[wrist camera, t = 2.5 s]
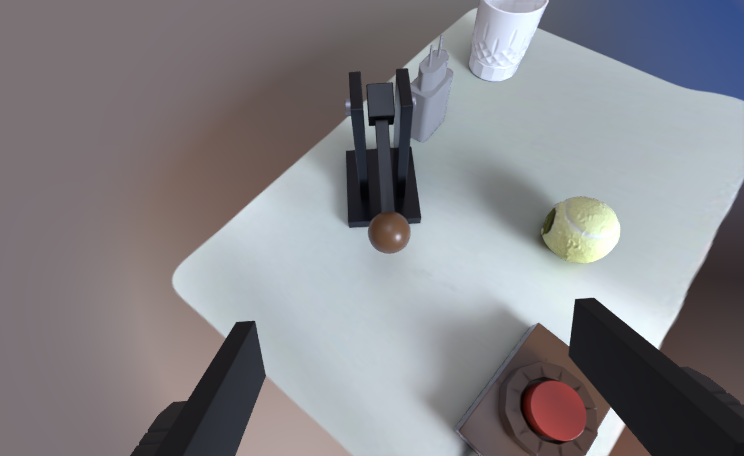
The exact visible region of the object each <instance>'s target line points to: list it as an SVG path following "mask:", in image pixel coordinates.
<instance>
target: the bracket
mask: <svg viewBox="0 0 744 456" xmlns="http://www.w3.org/2000/svg"><path fill="white" fill-rule="evenodd" d="M349 86H350V98H349V99H345V110H346V115H347V116H351V119H352V127H353V136H354V145H355V150H352V151H346V166H347V197H348V224H349V228H352V227H367V226H369V225H370V223H371V221H372V220H373V218H374V217H375V216H377V215H378V214H380V213H381V202H380V188H379V173H378V158H377V149H367V150H366V139H365V125H364V111H363V98H362V83H361V72H360V71H359V72H350V73H349ZM413 111H416V96H415V94H412V93H411V86H410V79H409V73H408V69H407V68H404V69H397V70H396V90H395V120H394V148H390V153H391V168H392V182H393V197H394V211H395V212H396V213H399V214H400V215H402V216H403V217H404V218H405V219H406V220H407V222H408V224H412V223H420V221H421V213H420V206H419V199H418V192H417V184H416V177H415V170H414V163H413V156H412V148H411V147H410V138H411V127H412V117H413Z"/></svg>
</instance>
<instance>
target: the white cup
mask: <svg viewBox="0 0 744 456" xmlns="http://www.w3.org/2000/svg"><path fill="white" fill-rule="evenodd" d="M548 1H549V0H479V5H478V10H477V15H476V20H475V26H474V32H473V39H472V44H471V46H472V48H471V54H470V60H469V67H470V69H471V71H472V73H473V74H475V75H476V76H478V77H479V78H481V79H484V80H487V81H503V80H506V79H508V78H510V77H511V76H512V75H513V74H514V73H515V72H516V70H517V68H518V66H519V63H520V61H521V59H522V57H523V56H524V54H525V52H526V50H527V47H528V45H529V43H530V41H531V39H532V37H533V35H534V33H535V30H536V28H537V26H538V24H539V21H540V19H541V17H542V15H543V13H544V10H545V8H546V6H547V3H548Z"/></svg>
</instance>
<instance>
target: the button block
mask: <svg viewBox="0 0 744 456" xmlns="http://www.w3.org/2000/svg"><path fill="white" fill-rule="evenodd" d="M568 354H569V346H568V345H566V344H565V343H564V342H563V341H561V340H560V339H559V338H558V337H556V336H555V335H554V334H553V333H551V332H550V331H549V330H547V329H546V328H545V327H544V326H542V325H541V324H540V323H537V324H535V325H534V326H532V327H530V328H529V329H528V331H527V332H526V333H525V335H524V336H523V337H522V339H521V340H520V341H519V343H518V344H517V345H516V347H515V348H514V349H513V351H512V352H511V353H510V355H509V356H508V357H507V359H506V360H505V361H504V363H503V364H502V366H501V367H500V368H499V370H498V371H497V372H496V374H495V375H494V376H493V378H492V379H491V380H490V382H489V383H488V384H487V386H486V387H485V388H484V390H483V391H482V392H481V394H480V395H479V396H478V398H477V399H476V400H475V402H474V403H473V404H472V406H471V407H470V408H469V410H468V411H467V412H466V414H465V415H464V417H463V418H462V419H461V421H460V422H459V423H458V425H457V426H456V427H455V429H454V431H455V432H456V433H457V434H458V435H459V436H460V437H461V438H462V439H463V440H464V441H465V442H466V443H467V444H468V445H469V446H470V447H471V448H472V449H473V450H474V451H475V452H476V453H477V454H478V455H479V456H585V455H586V454H587V452H588V451H589V449H590V447H591V445H592V444H593V442H594V440H595V439H596V437H597V434H598V433H597V429H598V428H599V426H600V424H601V423H602V421H603V419H604V418H605V416H606V414H607V413H608V411H609V409H610V408H611V406H610V405H609V404H608V403H607V402H606V400H605V399H604V398H603V397H602V396H601V394H600V393H599V392H598V391H597V390H596V388H595V387H594V386H593V385H592V384H591V382H590V381H589V380H588V379H587V378H586V376H585V375H584V374H583V373H582V372H581V370H580V369H579V368H578V367H577V366H576V364H575V363H574V362H573V361H572V360H571V358H570V357H569V356H568ZM544 381H559V382H562V383H564V384H566V385H568V386H569V387H571V388H572V389H573V390H574V391H575V392H576V393H577V394H578V395H579V397H580V398H581V400H582V402H583V404H584V407H585V410H586V425H585V428H584V430H583V431H582V433H581V434H580V435H579V436H578V437H576V438H575V439H572V440H568V441H561V440H556V439H551V438H547V437H544V436H542V435H540V434H539V433H538V432H536V431H535V430H534V429H533V428H532V427H531V425H530V424H529V422H528V421H527V419H526V417H525V414H524V410H523V399H524V395H525V393H526V391H527V390H528V389H529V388H530V387H531V386H532V385H534V384H536V383H539V382H544Z"/></svg>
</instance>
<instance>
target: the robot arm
mask: <svg viewBox="0 0 744 456" xmlns="http://www.w3.org/2000/svg"><path fill="white" fill-rule="evenodd" d="M568 356H569V357H570V358H571V360H572V361H573V362H574V363H575V364H576V366H577V367H578V368H579V369H580V370H581V372H582V373H583V374H584V375H585V376H586V378H587V379H588V380H589V381H590V382H591V384H592V385H593V386H594V387H595V388H596V390H597V391H598V392H599V393H600V394H601V396H602V397H603V398H604V399H605V400H606V402H607V403H608V404H609V405H610V406H611V408H612V409H613V410H614V411H615V412H616V414H617V415H618V416H619V417H620V418H621V420H622V421H623V422H624V423H625V424H626V425H627V427H628V428H629V429H630V430H631V431H632V433H633V434H634V435H635V436H636V437H637V438H638V440H639V441H640V442H641V443H642V444H643V446H644V447H645V448H646V449H647V451H648V452H649V453H650V454H651V455H652V456H744V405H741V403H740V401H739V400H737V399H736V398H734V397H733V396H732V395H730V394H729V393H726V391H725V390H724V389H723V388H722V387H720V386H719V385H718V384H716V383H715V382H714V381H713V380H711V379H710V378H708V377H707V376H705V375H703V374H701V373H699V372H697V371H695V370H693V369H691V368H689V367H679V366H678V365H676V364H675V363H674V362H673V361H671V360H670V359H669V358H668V357H666V356H665V355H664V354H663V353H661V352H660V351H659V350H658V349H657V348H655V347H654V346H653V345H652V344H651V343H649V342H648V341H647V340H646V339H644V338H643V337H642V336H641V335H639V334H638V333H637V332H636V331H634V330H633V329H632V328H631V327H629V326H628V325H627V324H626V323H625V322H623V321H622V320H621V319H620V318H618V317H617V316H616V315H615V314H613V313H612V312H611V311H610V310H608V309H607V308H606V307H605V306H604V305H602V304H601V303H600V302H599V301H597V300H596V299H595V298H584V299H575V305H574V313H573V322H572V330H571V338H570V346H569V354H568ZM265 377H266V375H265V370H264V365H263V360H262V354H261V349H260V344H259V339H258V334H257V329H256V324H255V321H245V322H236V324H235V325H234V327H233V328H232V330H231V332H230V333H229V335H228V336H227V338H226V340H225V341H224V343H223V345H222V346H221V348H220V349H219V351H218V352H217V354H216V356H215V357H214V359H213V360H212V362H211V364H210V365H209V367H208V369H207V370H206V372H205V373H204V375H203V376H202V378H201V380H200V381H199V383H198V385H197V386H196V388H195V389H194V391H193V393H192V395H191V396H190V397H189V399H188V401H181V402H173V403H171V404H170V405H169V406H168V407H167V408H166V409H165V410H164V411H162V412H161V413H160V414H159V415H158V416H157V418H156V419H155V420H154V422H153V423H152V425H151V426H150V428H149V429H148V433H145V435H144V436H143V438H142V439H141V441H140V442H139V446H136V448H135V449H134V451H133V452H132V454H131V455H130V456H235V455H236V452H237V450H238V447H239V444H240V442H241V439H242V436H243V434H244V431H245V429H246V426H247V424H248V421H249V418H250V416H251V413H252V410H253V408H254V405H255V403H256V400H257V397H258V394H259V392H260V389H261V387H262V384H263V382H264V379H265Z"/></svg>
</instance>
